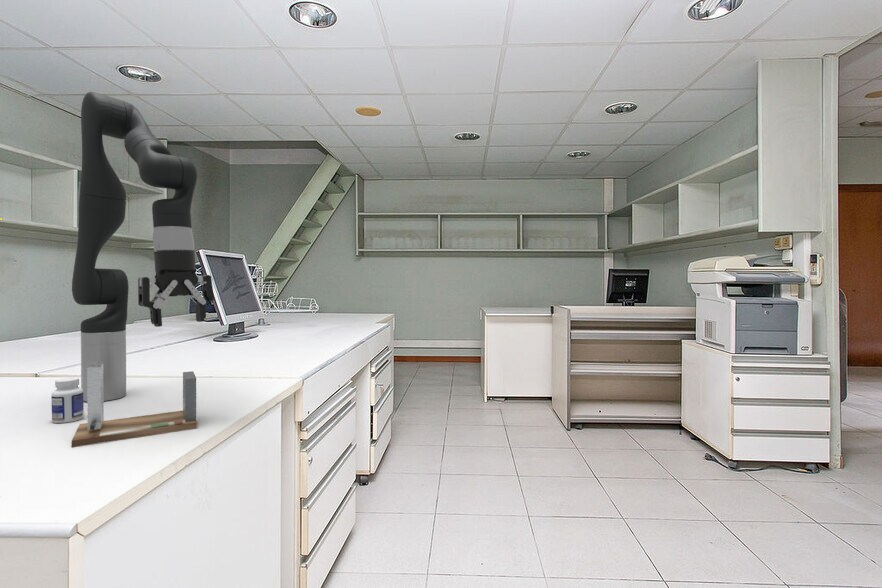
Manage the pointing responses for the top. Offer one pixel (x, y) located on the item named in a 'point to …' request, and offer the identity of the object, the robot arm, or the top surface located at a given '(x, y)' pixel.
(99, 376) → the brushed steel sheet
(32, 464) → the top surface
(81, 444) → the brown wooden base board
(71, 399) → the pill bottle
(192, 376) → the grey wood-grain slab
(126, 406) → the top surface
